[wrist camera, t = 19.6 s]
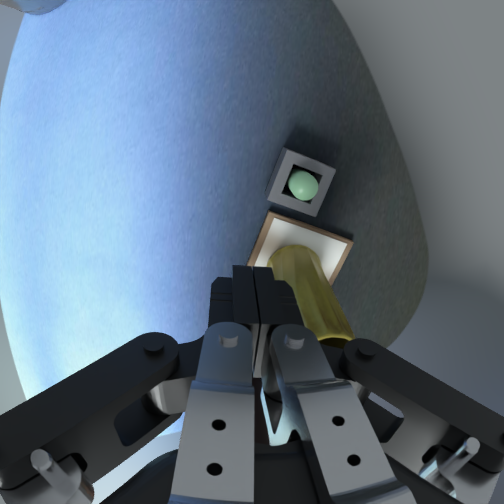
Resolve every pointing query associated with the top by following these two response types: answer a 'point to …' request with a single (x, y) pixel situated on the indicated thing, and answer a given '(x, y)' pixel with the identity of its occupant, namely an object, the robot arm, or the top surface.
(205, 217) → the top surface
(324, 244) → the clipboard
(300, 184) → the button
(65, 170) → the top surface
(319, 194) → the button housing
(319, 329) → the vase
